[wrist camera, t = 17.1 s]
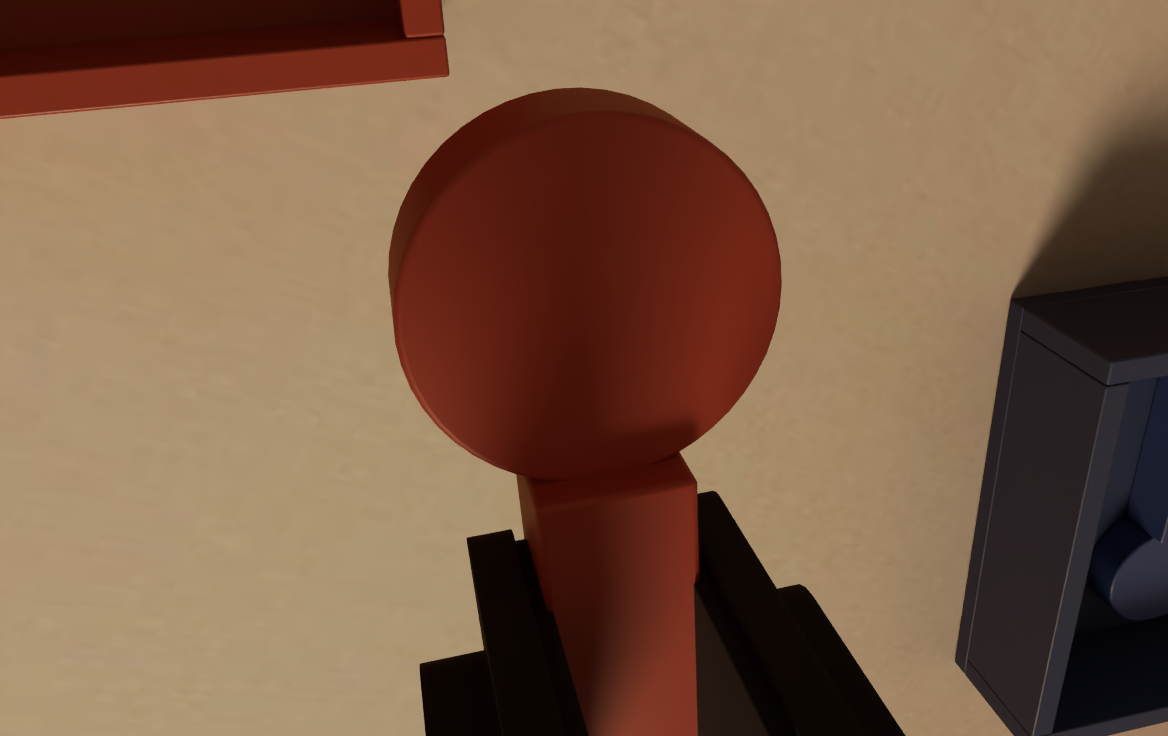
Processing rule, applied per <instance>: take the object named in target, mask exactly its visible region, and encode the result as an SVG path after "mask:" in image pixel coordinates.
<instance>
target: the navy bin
mask: <svg viewBox="0 0 1168 736" xmlns="http://www.w3.org/2000/svg"><path fill="white" fill-rule="evenodd" d="M1166 375H1168V277H1162V278H1155V279H1148V280H1142V281H1135V282H1128V283H1121V284H1115V285H1108V286H1101V287H1094V288H1088V289H1081V290H1074V291H1067V292H1061V293H1054V294H1047V295H1040V296H1034V297H1027V298H1020V299H1013V300H1011V303H1010V309H1009V316H1008V322H1007V329H1006V335H1005V342H1004V348H1003V355H1002V361H1001V368H1000V374H999V380H998V387H997V393H996V400H995V406H994V413H993V419H992V426H991V432H990V438H989V445H988V451H987V458H986V464H985V471H984V477H983V484H982V490H981V496H980V503H979V509H978V516H977V522H976V529H975V535H974V542H973V548H972V554H971V561H970V567H969V574H968V580H967V587H966V593H965V600H964V606H963V613H962V619H961V625H960V632H959V638H958V645H957V651H956V658H955V662H956V664H957V665H958V666H959V667H960V669H961V670H962V671H963V672H964V673H965V675H966V676H967V677H968V679H969V680H970V681H971V682H972V684H973V685H974V686H975V687H976V689H977V690H978V691H979V692H980V694H981V695H982V696H983V698H984V699H985V700H986V701H987V703H988V704H989V705H990V706H991V708H992V709H993V710H994V711H995V713H996V714H997V715H998V716H999V718H1000V719H1001V720H1002V721H1003V723H1004V724H1005V725H1006V727H1007V728H1008V729H1009V730H1010V732H1011V733H1012V734H1013V735H1014V736H1108V735H1112V734H1117V733H1121V732H1125V731H1129V730H1134V729H1138V728H1142V727H1146V726H1150V725H1155V724H1159V723H1163V722H1167V721H1168V613H1166V614H1164V615H1162V616H1160V617H1157V618H1153V619H1150V620H1143V621H1135V620H1129V619H1126V618H1124V617H1121V616H1120V615H1118V614H1117V613H1116V612H1115V611H1114V610H1113V609H1111V608H1110V607H1109V606H1108V605H1107V604H1106V603H1105V602H1104V601H1103V600H1102V599H1101V598H1100V597H1099V596H1098V595H1096V594H1095V593H1094V591H1093V590H1092V589H1091V587H1090V585H1089V583H1088V580H1087V575H1088V570H1089V566H1090V561H1091V557H1092V552H1093V550H1094V548H1095V546H1096V545H1097V543H1098V542H1099V540H1100V539H1101V538H1102V537H1103V536H1104V535H1105V534H1106V533H1107V532H1108V531H1109V530H1110V529H1111V528H1112V527H1113V526H1114V525H1116V524H1117V523H1119V522H1120V521H1121V520H1123V519H1125V518H1127V516H1126V510H1127V506H1128V502H1129V498H1130V494H1131V490H1132V486H1133V481H1134V477H1135V473H1136V469H1137V465H1138V461H1139V457H1140V452H1141V448H1142V444H1143V440H1144V436H1145V432H1146V428H1147V424H1148V419H1149V415H1150V411H1151V407H1152V403H1153V399H1154V395H1155V391H1156V386H1157V382H1158V378H1159V377H1160V376H1166Z"/></svg>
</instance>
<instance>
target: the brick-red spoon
mask: <svg viewBox="0 0 1168 736" xmlns="http://www.w3.org/2000/svg"><path fill="white" fill-rule="evenodd" d="M388 278H389V288H390V297H391V306H392V316H393V325H394V334H395V343H396V347H397V351H398V355H399V359H400V363H401V366H402V369H403V371H404V374H405V376H406V378H407V381H408V383H409V385H410V388H411V390H412V391H413V393H414V395H415V396H416V398H417V400H418V401H419V403H420V405H421V406H422V408H423V409H424V410H425V412H426V413H427V414H428V415H429V417H430V418H431V419H432V420H433V421H434V423H435V424H436V425H437V426H438V427H439V428H440V429H441V430H442V431H443V432H444V433H445V434H446V435H447V436H448V437H450V438H451V439H452V440H453V441H454V442H455V443H457V444H458V445H459V446H461V447H462V448H464V449H465V450H467V451H468V452H470V453H471V454H472V455H474V456H476V457H478V458H480V459H482V460H484V461H486V462H488V463H489V464H491V465H493V466H495V467H498V468H501V469H504V470H506V471H509V472H512V473H515V474H516V475H517V483H518V491H519V499H520V507H521V515H522V523H523V531H524V539H526V540H527V542H528V546H529V549H530V553H531V556H532V560H533V564H534V567H535V571H536V574H537V578H538V582H539V585H540V589H541V592H542V596H543V600H544V603H545V607H546V609H547V610H548V611H549V612H553V613H554V617H555V620H556V624H557V627H558V631H559V634H560V638H561V641H562V645H563V648H564V651H565V655H566V658H567V662H568V665H569V669H570V672H571V676H572V679H573V683H574V686H575V690H576V693H577V697H578V700H579V704H580V707H581V711H582V714H583V717H584V721H585V724H586V728H587V731H588V735H589V736H698V722H697V685H696V648H695V611H694V583H696V582H698V581H699V539H698V500H697V481H696V479H695V478H694V476H693V474H692V473H691V471H690V469H689V468H688V466H687V464H686V462H685V461H684V459H683V457H682V456H681V454H680V452H679V451H681V450H682V449H684V448H685V447H687V446H689V445H690V444H692V443H693V442H695V441H696V440H697V439H699V438H700V437H701V436H702V435H704V434H705V433H706V432H707V431H709V430H710V429H711V428H712V427H713V426H714V425H715V424H717V423H718V422H719V421H720V420H721V419H722V418H723V417H724V416H725V415H726V414H727V413H728V412H729V411H730V409H731V408H732V407H733V406H734V404H735V403H736V402H737V401H738V400H739V398H740V397H741V396H742V395H743V393H744V392H745V390H746V389H747V387H748V386H749V384H750V383H751V381H752V380H753V378H754V376H755V375H756V373H757V371H758V369H759V367H760V365H761V363H762V361H763V359H764V357H765V355H766V353H767V351H768V348H769V345H770V342H771V339H772V336H773V333H774V330H775V326H776V321H777V317H778V312H779V308H780V296H781V261H780V254H779V249H778V243H777V238H776V234H775V231H774V228H773V225H772V222H771V219H770V216H769V213H768V211H767V209H766V207H765V205H764V203H763V201H762V200H761V198H760V196H759V194H758V192H757V190H756V189H755V188H754V186H753V185H752V183H751V182H750V181H749V179H748V178H747V176H746V175H745V173H744V172H743V171H742V170H741V169H740V168H739V167H738V166H737V165H736V164H735V163H734V162H733V161H732V160H731V159H730V158H729V157H728V156H727V155H726V154H725V153H724V152H722V151H721V150H720V149H719V148H717V147H716V146H715V145H713V144H712V143H711V142H709V141H708V140H707V139H705V138H704V137H702V136H701V135H700V134H698V133H697V132H695V131H694V130H692V129H691V128H689V127H688V126H686V125H685V124H683V123H682V122H681V121H679V120H678V119H676V118H675V117H673V116H672V115H670V114H668V113H667V112H665V111H663V110H661V109H659V108H658V107H656V106H654V105H652V104H650V103H648V102H645V101H643V100H640V99H637V98H635V97H632V96H630V95H626V94H622V93H617V92H613V91H609V90H603V89H591V88H562V89H552V90H547V91H541V92H536V93H531V94H528V95H525V96H522V97H519V98H516V99H513V100H510V101H507V102H504V103H502V104H500V105H498V106H496V107H494V108H492V109H490V110H488V111H486V112H484V113H482V114H481V115H479V116H478V117H476V118H475V119H473V120H472V121H470V122H469V123H467V124H466V125H464V126H463V127H461V128H460V129H459V130H458V131H457V132H455V133H454V134H453V135H452V136H451V137H450V138H449V139H447V140H446V141H445V142H444V143H443V144H442V145H441V146H440V147H439V148H438V149H437V151H436V152H435V153H434V154H433V155H432V156H431V157H430V159H429V160H428V161H427V162H426V163H425V165H424V166H423V168H422V169H421V171H420V172H419V174H418V175H417V177H416V178H415V180H414V181H413V183H412V184H411V186H410V188H409V190H408V193H407V195H406V197H405V199H404V201H403V203H402V205H401V207H400V210H399V213H398V216H397V220H396V223H395V226H394V229H393V234H392V239H391V245H390V251H389V270H388Z"/></svg>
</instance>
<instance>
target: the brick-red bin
mask: <svg viewBox="0 0 1168 736" xmlns="http://www.w3.org/2000/svg"><path fill="white" fill-rule="evenodd" d="M444 31H445V30H444V21H443V13H442V4H441V0H0V119H5V118H15V117H26V116H36V115H47V114H58V113H68V112H79V111H89V110H100V109H110V108H121V107H132V106H142V105H153V104H163V103H174V102H184V101H195V100H205V99H216V98H227V97H237V96H248V95H258V94H269V93H279V92H290V91H300V90H311V89H322V88H332V87H343V86H353V85H364V84H374V83H385V82H396V81H406V80H417V79H427V78H438V77H447V76H449V65H448V56H447V47H446V39H445V37H444V35H443V34H444Z"/></svg>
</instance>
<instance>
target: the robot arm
mask: <svg viewBox="0 0 1168 736" xmlns="http://www.w3.org/2000/svg"><path fill="white" fill-rule="evenodd" d="M697 500H698V539H699V581H698V582H696V583H694V611H695V648H696V685H697V722H698V736H905V734H904V733H903V731H902V730H901V728H900V727H899V725H898V724H897V722H896V721H895V719H894V718H893V716H892V715H891V713H890V712H889V710H888V709H887V707H886V706H885V704H884V703H883V701H882V700H881V698H880V697H879V695H878V694H877V692H876V691H875V689H874V688H873V686H872V685H871V683H870V682H869V680H868V679H867V677H866V676H865V674H864V673H863V671H862V670H861V668H860V666H859V665H858V663H857V662H856V660H855V659H854V657H853V656H852V654H851V653H850V651H849V650H848V648H847V647H846V645H845V644H844V642H843V641H842V639H841V638H840V636H839V635H838V633H837V632H836V630H835V629H834V627H833V626H832V624H831V623H830V621H829V620H828V618H827V617H826V615H825V614H824V612H823V611H822V609H821V608H820V606H819V605H818V603H817V601H816V600H815V598H814V597H813V596H812V594H811V593H810V592H809V591H808V590H807V588H806V587H804V586H802V585H800V584H798V585H793V586H788V587H783V588H778V589H777V588H776V587H775V585H774V583H773V582H772V580H771V579H770V577H769V575H768V574H767V572H766V571H765V569H764V567H763V566H762V564H761V562H760V561H759V559H758V558H757V556H756V554H755V553H754V551H753V549H752V548H751V546H750V545H749V543H748V541H747V540H746V538H745V536H744V535H743V533H742V532H741V530H740V528H739V527H738V525H737V523H736V522H735V520H734V519H733V517H732V515H731V514H730V512H729V510H728V509H727V507H726V506H725V504H724V502H723V501H722V499H721V498H720V496H719V495H718V494H717V492H715V491H709V492H704V493H699V494H697ZM467 545H468V551H469V557H470V564H471V570H472V576H473V583H474V589H475V595H476V602H477V608H478V614H479V621H480V627H481V633H482V640H483V646H484V650H483V651H478V652H474V653H469V654H464V655H459V656H454V657H450V658H445V659H440V660H435V661H431V662H426V663H421V664H420V679H421V690H422V700H423V711H424V721H425V732H426V736H589V735H588V731H587V728H586V724H585V721H584V717H583V714H582V711H581V707H580V704H579V700H578V697H577V693H576V690H575V686H574V683H573V679H572V676H571V672H570V669H569V665H568V662H567V658H566V655H565V651H564V648H563V645H562V641H561V638H560V634H559V631H558V627H557V624H556V620H555V617H554V613H553V612H549V611H548V610H547V609H546V607H545V603H544V600H543V596H542V592H541V589H540V585H539V582H538V578H537V574H536V571H535V567H534V564H533V560H532V556H531V553H530V549H529V546H528V542H527V540H526V539H523V540H518V541H515V539H514V535H513V532H512V530H511V529H510V530H505V531H500V532H495V533H489V534H484V535H479V536H474V537H468V538H467Z"/></svg>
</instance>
